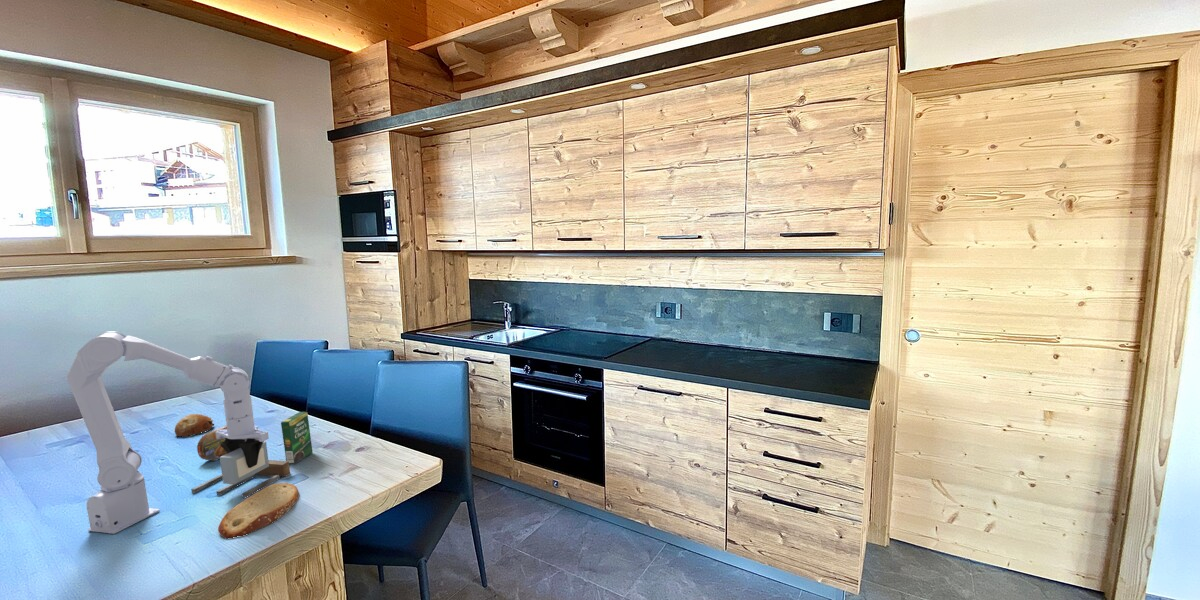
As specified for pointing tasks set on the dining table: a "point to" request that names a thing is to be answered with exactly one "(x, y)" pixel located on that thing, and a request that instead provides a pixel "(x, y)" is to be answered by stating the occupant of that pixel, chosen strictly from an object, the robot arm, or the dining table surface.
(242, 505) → the bread slice
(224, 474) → the grey rectangular block
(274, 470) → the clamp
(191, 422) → the bread roll
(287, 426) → the coffee box
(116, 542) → the dining table surface
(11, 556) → the dining table surface
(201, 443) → the tin
